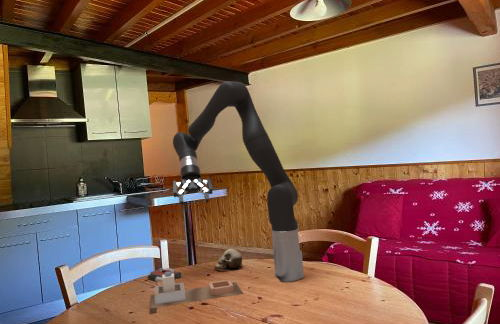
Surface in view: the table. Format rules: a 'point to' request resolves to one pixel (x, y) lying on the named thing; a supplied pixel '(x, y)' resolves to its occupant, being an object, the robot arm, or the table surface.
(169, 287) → the plug
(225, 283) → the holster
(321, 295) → the table surface
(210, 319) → the table surface
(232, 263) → the skull
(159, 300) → the frame
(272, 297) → the table surface
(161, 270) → the walkie-talkie
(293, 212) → the robot arm
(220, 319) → the table surface
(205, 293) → the panel
